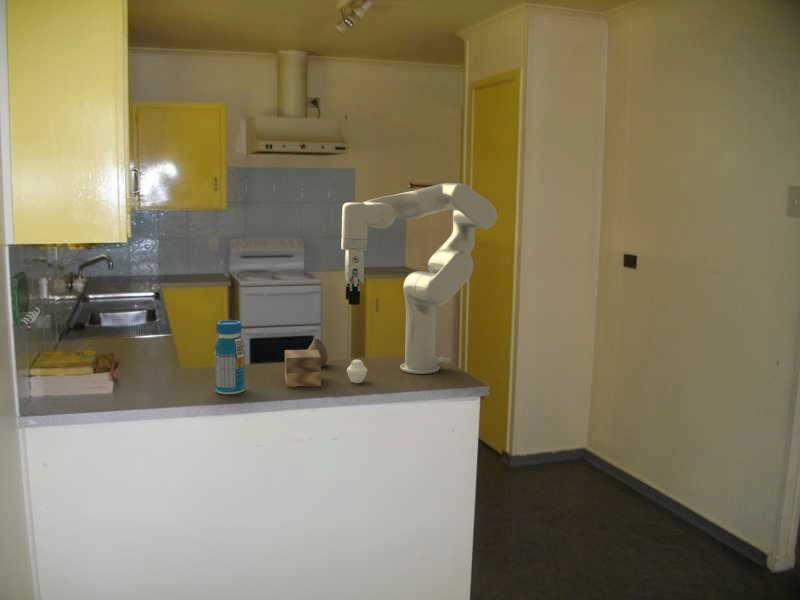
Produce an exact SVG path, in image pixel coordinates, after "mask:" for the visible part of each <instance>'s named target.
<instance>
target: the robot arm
mask: <svg viewBox="0 0 800 600" xmlns="http://www.w3.org/2000/svg"><path fill="white" fill-rule="evenodd" d="M341 211H342V212H341V213H342V214H341V250H344V253H345V254H344V278H345V281H346V286H345V300H347V301H348V305H353V306H354V305H355V306H358V305H360V304H361V288H360V287H361V286H360V284H361V285H363V284H364V283H365V256H364V251H367V250H368V227H369V228H375V229H377V228H378V229H384V228H388V227H390V226H391V225H393V223H394V222H395V220H402V219H403V220H412V219H419V218H423V217H427V216H431V215H434V214H438V213H440V212H441V213H442V212H445V211H452V231H451V234H450V236H448V238H447V239H446V240H445V242H443V244H441V245H440V247H439V248H438V249H437V250H436V251H435V252H433V254H432V255H431V256H430V258H429V260H428V261H427V269H428V271H422V270H417V271H413V272H411V273H409V274H408V275H407V276H406V277H405V279H404V281H403V287H402V290H403V296H404V302H405V336H404V337H405V341H404V343H405V346H404V348H405V349H404V362H403V363H401V364H400V365H399V369H400V370H401V371H402V372H404V373H409V374H415V375H425V374H426V375H427V374H432V373H433V374H435V373H437V372H438V371H440V365H441V364H444V365H449V364H450V358H449V357H444V356H439V357H438V356H437V355H436V353H435V352H436V327H437V325H436V324H437V323H436V322H437V316H436V314H437V313H436V308H435V306H442V305H445V304H446V303H448V302H449V301H450V300H451V299H452V298H453V297H454V296H455V295H456V293H458V292H459V290H460V289H461V288H462V287H463V286H464V285H465V284H466V283H467V281H469V279H470V278H471V276H472V273H473V271H474V261H473V258H472V256H471V255H470V254H471V253H472V251H473V249H474V247H475V244H476V243H475V241H476V240H475V239H476V236H475V234H476V233H475V229H478V230H479V229H480V230H487V229H490V228H492V227H493V226H494V225H495V223H496V222H497V217H498V213H497V210H496V208H495V206H494V205H493V204H492V203H491V202H490V201H489V200H487V198H485V197H483V195H481V194H480V193H478V192H477V191H476V190H474V189H473V188H472V187H470V186H468V185H467V184H464V183H458V182H443V183H438V184H434V185H431V186H430V185H429V186H427V187H424V188H419V189H415V190H411V191H406V192H402V193H397V194H392V195H391V194H390V195H386V196H385V195H384V196H381V197H378V198H373V199H368V200H366V201H362V202H357V201H356V202H355V201H354V202H352V201H351V202H350V201H349V202H345V203H344V204H343V205H342V210H341Z"/></svg>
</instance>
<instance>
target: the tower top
mask: <svg viewBox="0 0 800 600" xmlns="http://www.w3.org/2000/svg"><path fill="white" fill-rule="evenodd" d="M285 368H286V373H304V372H321V373H322V367H321V356H320V353H319V351H318V349H316V350H308V349H286V350H285V349H284V369H285Z"/></svg>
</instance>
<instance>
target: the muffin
mask: <svg viewBox="0 0 800 600" xmlns="http://www.w3.org/2000/svg"><path fill="white" fill-rule="evenodd" d="M367 373H368V368H367V367H366V366H365V364H364V362H363V360H361V359H353V360H352V361H350V365H349V366H348V367H347V368H346V374H347V376H348V378H349V379H350V381H351V383H352V382H353V384H361V383H363V381H364V380H365V377H366V375H367Z"/></svg>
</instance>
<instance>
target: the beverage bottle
mask: <svg viewBox="0 0 800 600" xmlns="http://www.w3.org/2000/svg"><path fill="white" fill-rule="evenodd" d="M216 333H217V335H219V336H217V338H216V340H215V342H214V350H215V352H214V353H213V358H214V370H215V371H214V373H215V374H214V376H215V377H214V379H215V392H217V393H218V394H221V395H236V394H237V395H238V394H241V393H242V392H244V391H245V389H246V385H245V357H246V353H245V351H244V347H245V342H244V341H243V338H242V337H241V335H240V334H241V333H242V322H241V321H240V320H236V319H235V320H234V319H225V320H219V321H217V322H216Z"/></svg>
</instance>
